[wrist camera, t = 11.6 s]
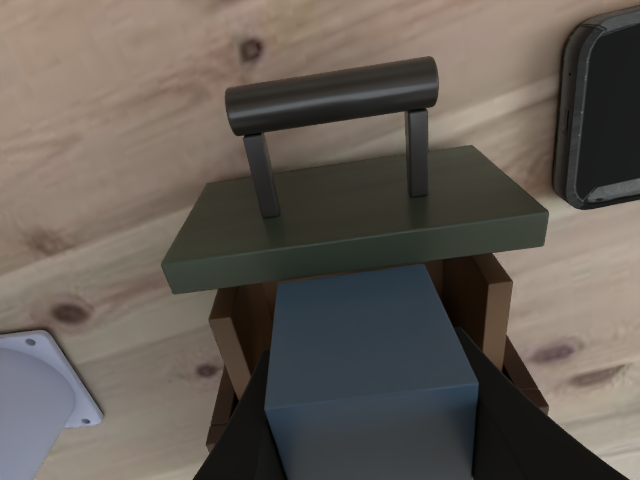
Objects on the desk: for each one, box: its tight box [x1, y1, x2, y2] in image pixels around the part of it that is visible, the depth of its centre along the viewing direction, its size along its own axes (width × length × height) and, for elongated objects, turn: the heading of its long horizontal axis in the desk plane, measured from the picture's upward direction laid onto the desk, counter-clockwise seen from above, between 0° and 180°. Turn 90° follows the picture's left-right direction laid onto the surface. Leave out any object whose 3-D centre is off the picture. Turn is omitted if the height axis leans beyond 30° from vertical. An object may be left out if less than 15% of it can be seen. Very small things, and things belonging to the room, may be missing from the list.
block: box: [264, 264, 479, 480], centre depth 11 cm, size 4×4×4 cm
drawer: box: [161, 56, 549, 401], centre depth 16 cm, size 17×11×6 cm
